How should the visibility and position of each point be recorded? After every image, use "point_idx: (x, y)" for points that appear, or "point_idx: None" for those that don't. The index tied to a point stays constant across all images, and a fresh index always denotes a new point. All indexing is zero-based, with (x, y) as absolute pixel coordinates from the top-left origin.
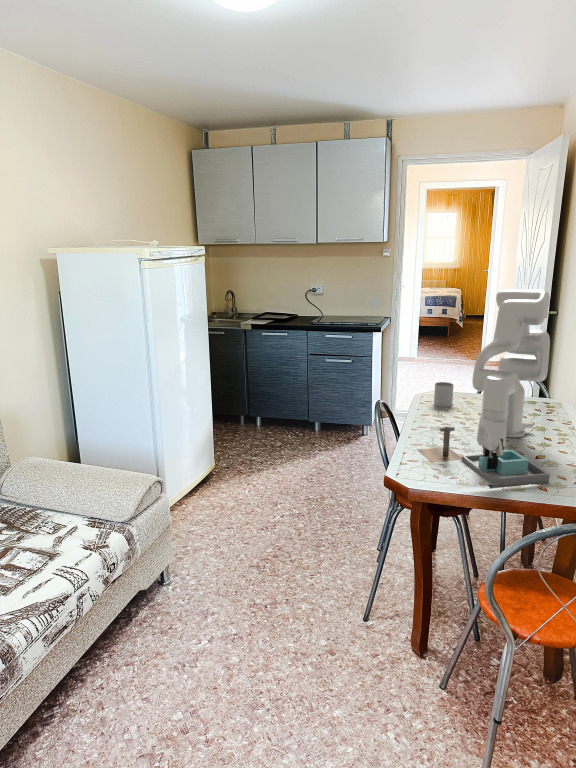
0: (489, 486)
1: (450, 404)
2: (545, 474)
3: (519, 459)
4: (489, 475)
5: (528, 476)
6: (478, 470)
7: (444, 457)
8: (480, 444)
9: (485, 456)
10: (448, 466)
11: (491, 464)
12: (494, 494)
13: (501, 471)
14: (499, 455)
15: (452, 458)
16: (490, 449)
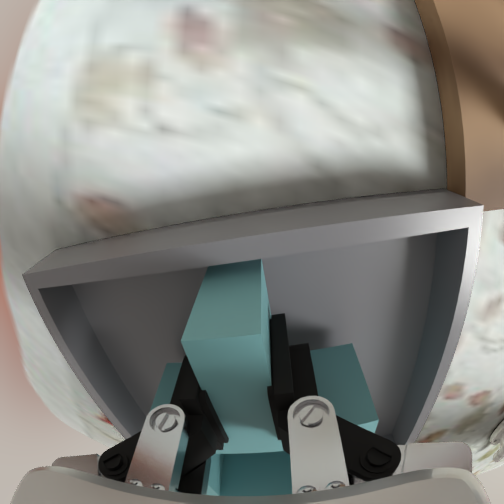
0: (69, 247)
1: None
2: None
3: (207, 489)
4: (66, 283)
5: (124, 435)
6: (182, 241)
7: (498, 91)
8: (342, 490)
9: (268, 390)
10: (412, 73)
11: (181, 370)
12: (11, 240)
13: (162, 379)
14: (56, 459)
15: (486, 137)
16: (33, 478)
